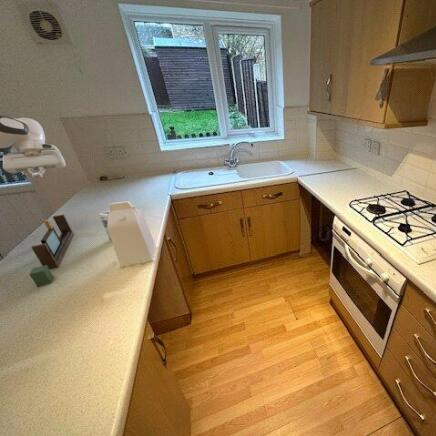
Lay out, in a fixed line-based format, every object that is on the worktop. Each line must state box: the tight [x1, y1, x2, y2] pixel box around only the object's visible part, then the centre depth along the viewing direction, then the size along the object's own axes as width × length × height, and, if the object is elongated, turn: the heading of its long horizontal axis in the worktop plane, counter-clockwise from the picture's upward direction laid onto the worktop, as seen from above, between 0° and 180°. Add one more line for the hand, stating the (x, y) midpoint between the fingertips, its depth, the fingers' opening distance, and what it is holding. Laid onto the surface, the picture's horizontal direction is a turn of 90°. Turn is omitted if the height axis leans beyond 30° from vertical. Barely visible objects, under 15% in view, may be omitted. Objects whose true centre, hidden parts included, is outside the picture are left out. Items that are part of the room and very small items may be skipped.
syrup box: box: [99, 209, 112, 242], centre depth 116 cm, size 6×6×14 cm
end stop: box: [28, 265, 55, 287], centre depth 91 cm, size 4×4×6 cm
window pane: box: [40, 219, 62, 257], centre depth 104 cm, size 13×1×13 cm, turn 30°
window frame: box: [31, 213, 75, 271], centre depth 108 cm, size 31×4×12 cm, turn 30°
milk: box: [107, 200, 157, 268], centre depth 100 cm, size 12×12×26 cm
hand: (37, 177), depth 107 cm, fingers closed
